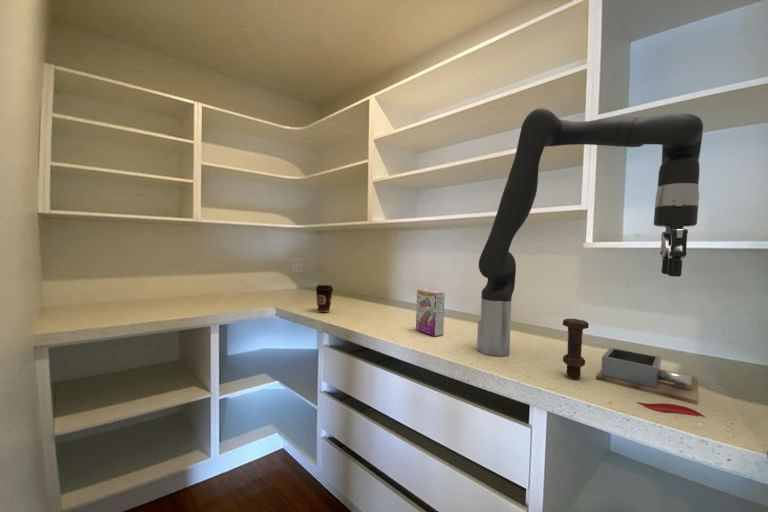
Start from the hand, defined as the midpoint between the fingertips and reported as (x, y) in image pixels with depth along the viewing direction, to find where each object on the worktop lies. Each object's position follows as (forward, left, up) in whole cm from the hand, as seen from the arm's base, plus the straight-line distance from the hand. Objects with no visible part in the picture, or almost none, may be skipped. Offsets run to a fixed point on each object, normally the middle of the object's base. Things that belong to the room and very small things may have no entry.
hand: (670, 275), depth 76 cm
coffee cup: (-130, -3, -28) cm, 134 cm away
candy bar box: (-70, +3, -28) cm, 76 cm away
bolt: (-18, -5, -28) cm, 34 cm away
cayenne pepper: (+1, -10, -29) cm, 30 cm away
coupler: (-7, +5, -28) cm, 29 cm away
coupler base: (-7, +5, -28) cm, 29 cm away
